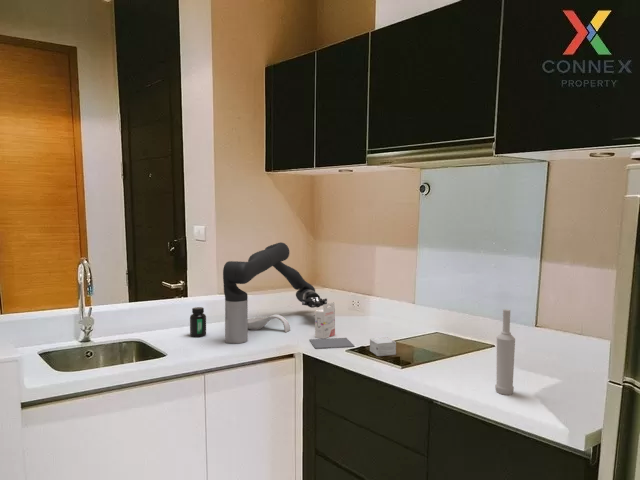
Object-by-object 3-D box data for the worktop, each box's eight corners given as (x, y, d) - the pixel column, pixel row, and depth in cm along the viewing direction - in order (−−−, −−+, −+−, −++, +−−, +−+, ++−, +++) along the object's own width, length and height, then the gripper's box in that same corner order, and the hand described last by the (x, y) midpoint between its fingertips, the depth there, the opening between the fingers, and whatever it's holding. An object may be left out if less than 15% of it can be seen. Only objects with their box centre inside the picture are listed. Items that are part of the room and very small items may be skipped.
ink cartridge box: (326, 333, 217) (326, 300, 217) (335, 335, 214) (335, 302, 214) (314, 337, 211) (314, 303, 210) (323, 339, 208) (323, 304, 207)
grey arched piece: (236, 330, 224) (236, 314, 223) (248, 324, 235) (248, 309, 234) (283, 334, 215) (283, 318, 215) (294, 329, 226) (294, 313, 226)
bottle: (510, 389, 149) (512, 308, 148) (516, 395, 144) (518, 311, 143) (493, 388, 150) (495, 308, 148) (498, 394, 145) (500, 311, 143)
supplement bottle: (203, 337, 208) (202, 309, 208) (187, 337, 209) (187, 309, 208) (208, 333, 215) (208, 306, 215) (193, 333, 216) (193, 306, 215)
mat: (315, 349, 192) (315, 347, 192) (309, 340, 205) (309, 339, 205) (354, 347, 195) (354, 345, 195) (346, 338, 208) (346, 337, 208)
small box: (369, 351, 190) (369, 338, 190) (387, 349, 193) (387, 336, 192) (377, 356, 183) (377, 343, 183) (396, 355, 185) (396, 341, 185)
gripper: (298, 291, 242) (304, 297, 225) (324, 290, 245) (332, 296, 228) (298, 306, 242) (304, 313, 226) (324, 305, 245) (332, 312, 228)
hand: (318, 305), depth 227 cm, fingers closed
